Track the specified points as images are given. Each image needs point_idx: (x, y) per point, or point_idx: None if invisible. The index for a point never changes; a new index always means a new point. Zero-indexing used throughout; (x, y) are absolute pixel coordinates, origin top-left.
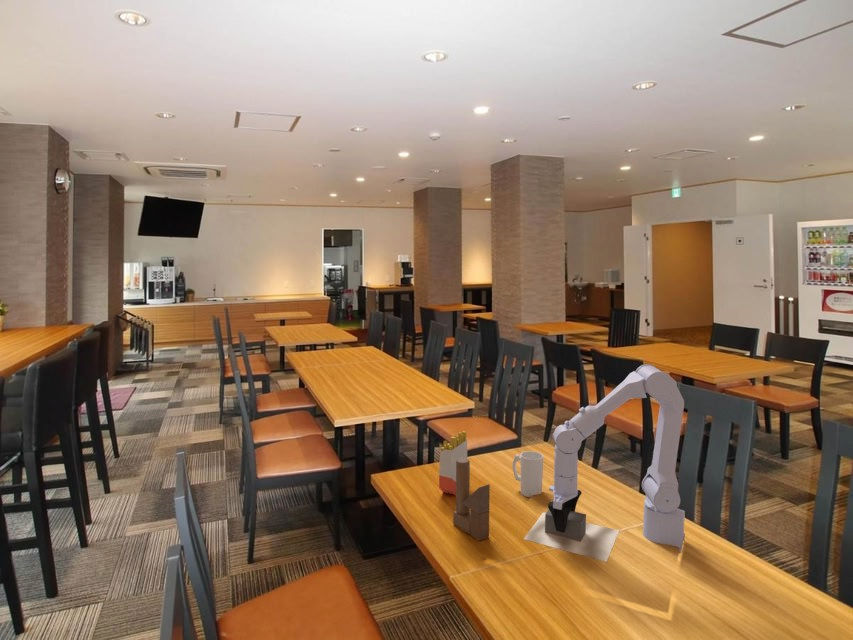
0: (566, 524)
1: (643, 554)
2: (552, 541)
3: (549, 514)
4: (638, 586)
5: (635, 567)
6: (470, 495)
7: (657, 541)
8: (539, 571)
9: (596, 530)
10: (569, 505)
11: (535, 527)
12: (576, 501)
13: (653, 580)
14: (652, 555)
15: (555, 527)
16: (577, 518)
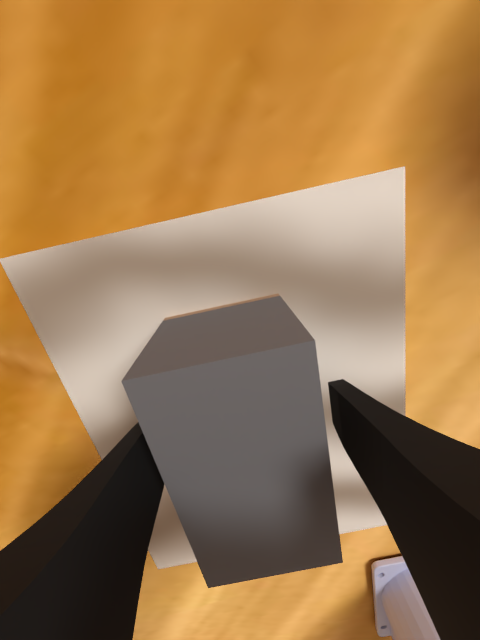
0: (153, 515)
1: (307, 583)
2: (119, 388)
3: (148, 408)
4: (136, 622)
5: (220, 593)
6: None
7: (386, 614)
8: None
9: (355, 470)
10: (385, 483)
11: (176, 241)
12: (420, 592)
13: (193, 630)
14: (318, 596)
15: (126, 435)
16: (247, 556)
